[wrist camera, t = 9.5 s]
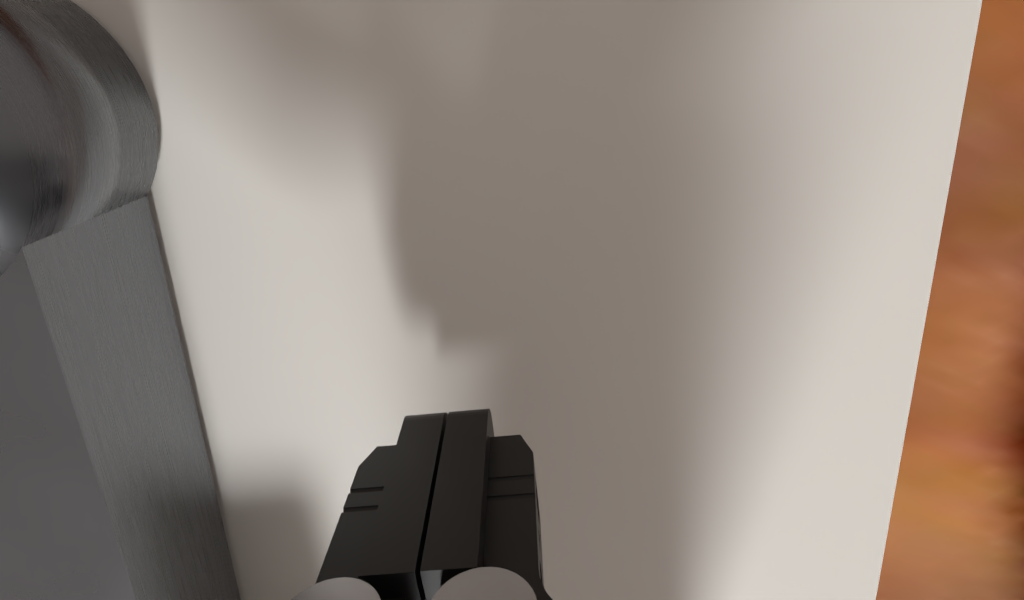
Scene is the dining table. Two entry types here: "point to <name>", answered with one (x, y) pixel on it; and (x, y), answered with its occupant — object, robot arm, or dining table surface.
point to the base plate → (561, 265)
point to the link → (91, 335)
